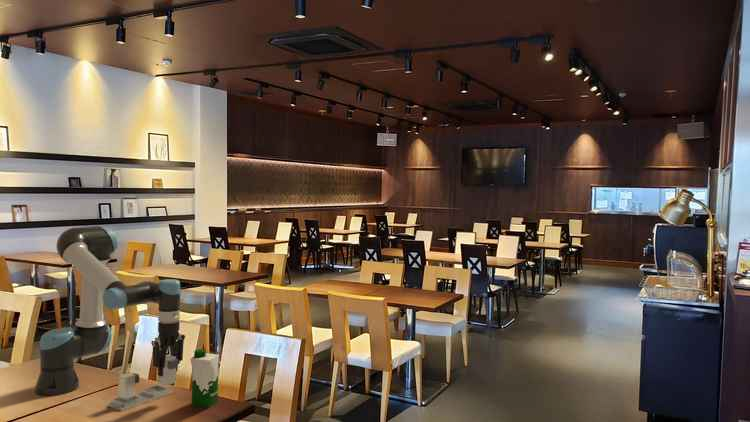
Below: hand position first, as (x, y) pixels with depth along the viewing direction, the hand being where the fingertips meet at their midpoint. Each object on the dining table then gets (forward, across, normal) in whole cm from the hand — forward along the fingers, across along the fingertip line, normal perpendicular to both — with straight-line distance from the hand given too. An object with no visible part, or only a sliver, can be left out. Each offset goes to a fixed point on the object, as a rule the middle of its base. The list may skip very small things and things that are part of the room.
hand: (167, 382), depth 209 cm
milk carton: (+8, +7, -13) cm, 16 cm away
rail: (+8, -4, +10) cm, 14 cm away
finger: (0, 0, 0) cm, 0 cm away
